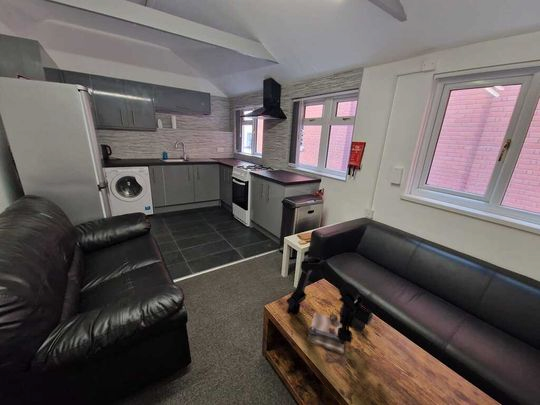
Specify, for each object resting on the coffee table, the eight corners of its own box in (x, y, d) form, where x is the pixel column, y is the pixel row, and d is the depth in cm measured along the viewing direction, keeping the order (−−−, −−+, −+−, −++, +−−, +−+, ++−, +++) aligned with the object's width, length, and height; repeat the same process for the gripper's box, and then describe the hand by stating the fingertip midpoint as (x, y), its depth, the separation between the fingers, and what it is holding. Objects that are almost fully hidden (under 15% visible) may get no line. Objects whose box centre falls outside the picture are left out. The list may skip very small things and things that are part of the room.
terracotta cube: (328, 330, 118) (329, 327, 117) (329, 327, 120) (329, 324, 119) (334, 332, 117) (334, 329, 116) (334, 329, 119) (335, 326, 118)
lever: (308, 334, 115) (310, 322, 113) (309, 328, 118) (310, 317, 116) (344, 345, 110) (346, 333, 108) (344, 339, 113) (346, 327, 111)
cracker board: (307, 340, 114) (308, 333, 112) (314, 314, 131) (315, 308, 129) (343, 354, 108) (344, 347, 106) (345, 324, 125) (346, 318, 123)
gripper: (366, 332, 94) (359, 359, 99) (365, 303, 111) (360, 327, 115) (339, 323, 98) (334, 349, 102) (342, 296, 114) (338, 320, 119)
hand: (342, 336), depth 110 cm, fingers open, 9 cm apart
